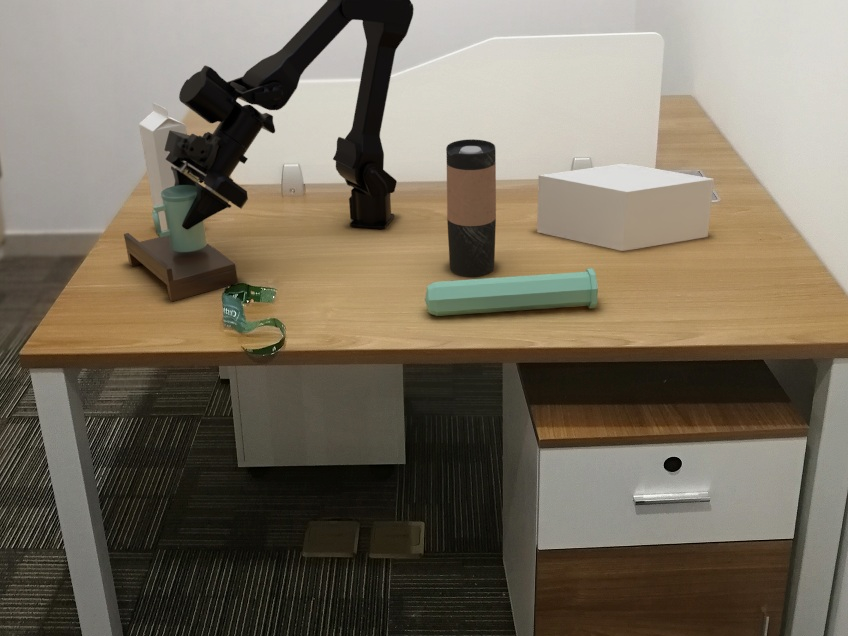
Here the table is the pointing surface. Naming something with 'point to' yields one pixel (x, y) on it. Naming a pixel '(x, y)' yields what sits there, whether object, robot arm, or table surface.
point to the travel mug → (471, 206)
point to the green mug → (179, 219)
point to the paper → (624, 206)
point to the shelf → (182, 266)
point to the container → (512, 293)
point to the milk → (158, 153)
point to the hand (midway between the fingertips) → (176, 222)
